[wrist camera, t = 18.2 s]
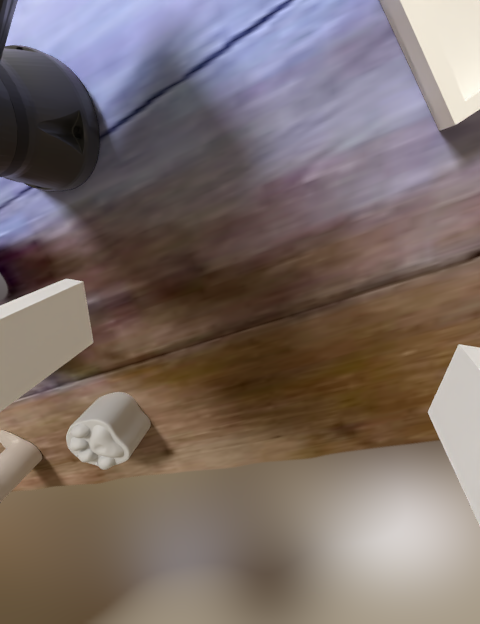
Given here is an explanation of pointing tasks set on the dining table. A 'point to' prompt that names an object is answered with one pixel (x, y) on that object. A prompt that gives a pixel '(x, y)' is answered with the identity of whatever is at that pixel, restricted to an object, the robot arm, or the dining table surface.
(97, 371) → the dining table surface
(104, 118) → the dining table surface
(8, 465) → the candle
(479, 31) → the tray
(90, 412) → the lumpy-topped squat cylinder
